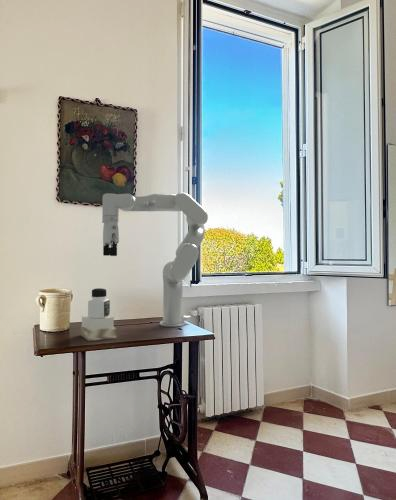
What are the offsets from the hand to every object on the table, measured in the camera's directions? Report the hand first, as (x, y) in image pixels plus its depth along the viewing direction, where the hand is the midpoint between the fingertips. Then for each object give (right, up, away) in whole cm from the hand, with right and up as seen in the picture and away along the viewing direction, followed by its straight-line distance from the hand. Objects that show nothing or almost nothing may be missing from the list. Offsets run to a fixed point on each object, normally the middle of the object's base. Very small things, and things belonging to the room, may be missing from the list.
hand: (109, 255), depth 183 cm
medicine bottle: (0, -26, -19) cm, 32 cm away
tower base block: (-1, -35, -19) cm, 40 cm away
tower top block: (-1, -30, -19) cm, 36 cm away
